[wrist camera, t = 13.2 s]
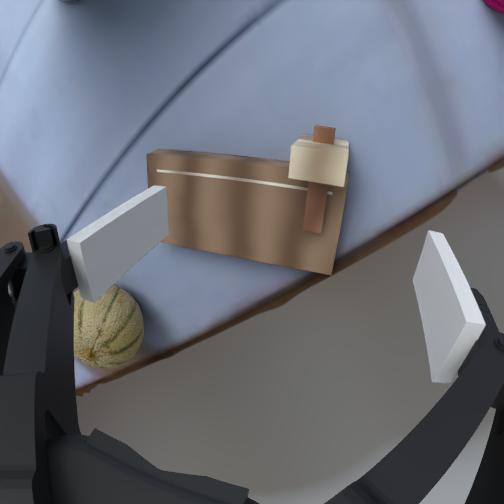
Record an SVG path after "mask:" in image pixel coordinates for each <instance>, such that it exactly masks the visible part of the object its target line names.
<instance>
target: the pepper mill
mask: <svg viewBox="0 0 504 504" xmlns="http://www.w3.org/2000/svg"><path fill="white" fill-rule="evenodd" d="M483 1H484V2H485V3H486V4H487V5H489V6H490V7H491V8H493V9H494V10H496V11H498V12H501V13H504V0H483Z"/></svg>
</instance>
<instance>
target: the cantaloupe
mask: <svg viewBox="0 0 504 504" xmlns="http://www.w3.org/2000/svg"><path fill="white" fill-rule="evenodd" d="M73 294H74V298H75V302H74V356H76V357H77V358H78V359H80V360H81V361H82V362H83V363H85V364H87V365H89V366H92V367H94V368H116V367H119V366H121V365H123V364H125V363H127V362H128V361H129V360H130V359H131V358H132V357H133V356H134V355H135V354H136V352H137V351H138V349H139V347H140V346H141V344H142V341H143V337H144V322H143V315H142V312H141V309H140V307H139V305H138V303H137V302H136V301H135V300H134V298H133V297H132V296H131V295H130V294H129V293H128V292H127V291H125V290H124V289H121V288H119V287H118V286H115V285H112V286H111V287H110V288H109V289H108V290H107V291H106V292H105V293H104V294H103V295H102V296H101V297H100V298H99V299H98V300H97V301H96V302H95V303H93V302H91V301H88V300H85V299H83V298H81V295H80V292H79V289H78V290H77V291H76V292H75V293H73Z"/></svg>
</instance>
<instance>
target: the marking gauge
mask: <svg viewBox="0 0 504 504" xmlns="http://www.w3.org/2000/svg"><path fill="white" fill-rule="evenodd" d="M335 129H336V128H330V127H324V126H317V125H316V126H315V127H314V135H313V136H312V135H305V134H303V135H302V136H301V137H300V138H299V139H298V140H297V141H296V142H294V143H293V144H292V145H291V154H290V165H289V176H288V178H291V179H298V180H304V181H308V190H307V198H306V206H305V214H304V222H303V230H306V231H312V232H317V233H321V230H322V225H323V219H324V212H325V206H326V199H327V192H328V185H335V186H340V187H344V182H345V176H346V169H347V162H348V155H349V141H345V140H339V139H334V138H335Z"/></svg>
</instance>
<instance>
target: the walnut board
mask: <svg viewBox="0 0 504 504" xmlns="http://www.w3.org/2000/svg"><path fill="white" fill-rule="evenodd" d="M289 165H290V162H287V161H279V160H272V159H264V158H255V157H246V156H237V155H227V154H216V153H205V152H192V151H177V150H160V149H159V150H156V151H154V152H151V153H149V154H147V173H148V188H150V187H152V186H154V185H156V186H165V187H166V192H167V211H168V227H169V235H167V236H166V237H165V238H164V239H163V240H162V241H161V242H163V243H168V244H173V245H178V246H183V247H188V248H193V249H198V250H203V251H208V252H213V253H218V254H224V255H229V256H234V257H239V258H244V259H249V260H254V261H259V262H265V263H270V264H275V265H280V266H285V267H290V268H296V269H301V270H306V271H311V272H317V273H322V274H327V275H331V274H332V269H333V264H334V259H335V254H336V249H337V244H338V239H339V234H340V228H341V223H342V217H343V212H344V206H345V200H346V194H347V188H348V181H349V171H346V176H345V182H344V187H340V186H335V185H328V192H327V199H326V206H325V212H324V219H323V225H322V230H321V233H317V232H312V231H306V230H303V222H304V214H305V206H306V198H307V190H308V181H304V180H298V179H291V178H288V176H289Z"/></svg>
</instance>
